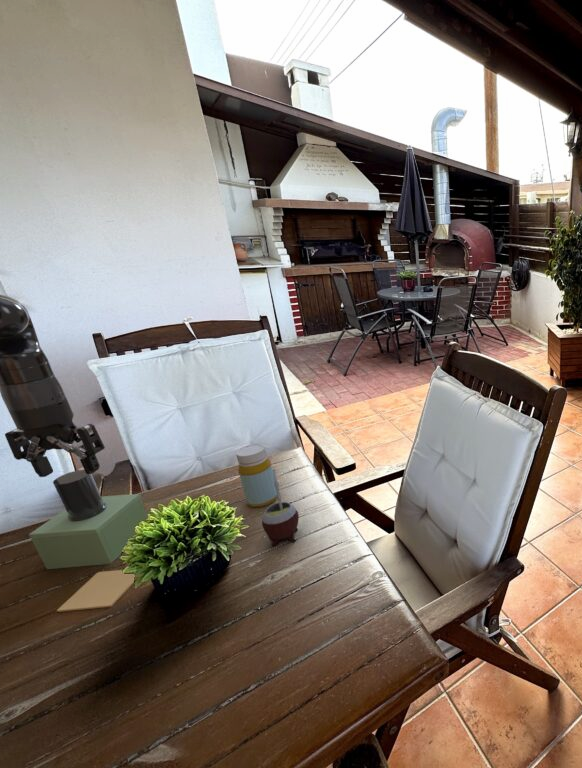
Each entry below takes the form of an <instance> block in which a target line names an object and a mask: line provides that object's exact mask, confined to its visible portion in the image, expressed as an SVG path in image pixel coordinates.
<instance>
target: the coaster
mask: <svg viewBox="0 0 582 768" xmlns="http://www.w3.org/2000/svg"><path fill="white" fill-rule="evenodd" d="M122 570H123V569H116V570H106V571H105V570H104V571H97V572H96V573H95V574H94V575H93V576H92V577H91V578H89V580H88V581H86V582H85V584H83V585H82V586H81V587H80V588H79V589H78V590H77V591H76V592H74V594H73V595H71V597H70V598H68V599H67V600H66V601H65V602H64V603H62V604H61V606H60V607H58V609H56V613H61V612H72V611H73V612H74V611H83V610H91V609H93V610H95V609H105V608H112V607H114V605H115V604H116V603H117V602H118V601H119V600H120V599H121V598H122V596H123V595H124V594H125V593H126V592H127V591H128V590H129V589H130V588H131V587H132V585H134V584H135V582H134V577H135V575H134V574H124V573H123V572H122Z"/></svg>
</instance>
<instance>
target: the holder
mask: <svg viewBox="0 0 582 768" xmlns="http://www.w3.org/2000/svg"><path fill="white" fill-rule="evenodd" d="M52 484H53V486H54V489H55V490H56V492H57V494H58V497H59V499H60V501H61V503H62V505H63V507H64V510H65V509H66V511H67V514H68V519H69V520H70V521H73V522H75V521H82V520H86V519H89V518H92V517H94V516H96V515H98V514H100V513H102V512H103V511H104V510H105V509H106V508H107V505H106V503H104V502H103V499H102V497H101V496H102V495H101V492H100V490H99V488H98V485H97V483H96V481H95V479H94V476H93V474H86V472H85V470H84V469H79V470H73V471H70V472H67V473H65V474H61V475H60V476H58V477H57V478H55V479H54V480H53V482H52Z"/></svg>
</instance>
